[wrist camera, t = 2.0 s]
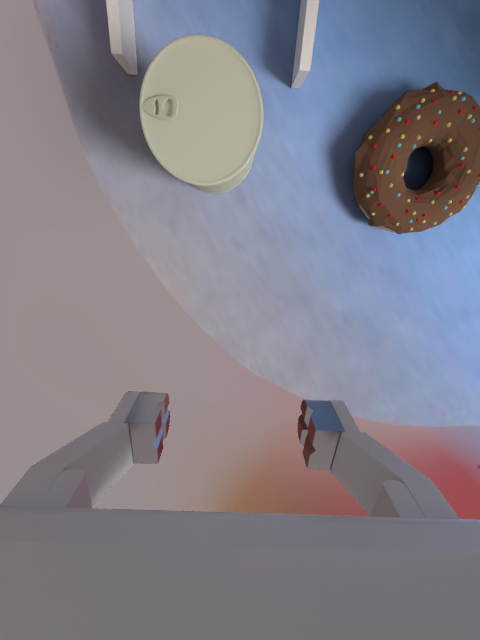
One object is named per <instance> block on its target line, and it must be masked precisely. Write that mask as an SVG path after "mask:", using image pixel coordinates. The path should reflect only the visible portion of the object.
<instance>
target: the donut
mask: <svg viewBox="0 0 480 640" xmlns="http://www.w3.org/2000/svg"><path fill="white" fill-rule="evenodd" d="M422 146H423V147H425V148H426V149H428V150H429V151H430V152H431V155H432V157H433V170H432V173H431V176H430V177H429V179H428V180H427V182H426V183H425V185H424V186H422V187H421V188H419V189H417V190H411V189H409V188H407V187H406V185H405V182H404V179H403V176H404V173H405V171H406V169H407V162H408V158H409V156H410V154H411V153H412V152H413V151H414V150H415V149H416V148H419V147H422ZM479 182H480V107H479V106H478V104H477V103H476V101H475V100H474V99H473V97H472V96H470V95H468V94H466V93H463V92H461V91H458V92H457V91H453V90H445V89H443V88H442V87H441V86H440V85H439V84H438V83H437V82H435V83H433V84H431V85H430V86H428V87H426V88H424V89H423V90H415V91H406V92H405V93H404V94H403V95H402V96H401V97H400V98H399V99H398V100H397V101H396V102H395V103H394V104H393V105H391V106H390V107H389V108H388V109H387V110H386V111H385V113H384V114H383V116H382V117H381V119H380V120H379V121H378V122H377V123H375V124H374V125H373V126H372V127H371V128H370V129H369V131H368V132H367V133H366V135H365V136H364V139H363V141H362V144H361V146H360V148H359V149H358V150H357V151H356V152H355V161H354V172H353V190H354V194H355V199H356V204H357V206H358V207H360V208H361V209H362V211H363V213H364V214H365V216H366V217H367V218H368V222H369V225H370V226H378V227H379V228H382V229H385V230H387V231H390V232H396V233H397V234H401V233H409V232H421V231H423V230H426V229H429V228H432V227H434V226H437V225H440V224H441V223H442V222H444V221H445V220H446V219H447V218H449V217H450V216H452V215H454V214H456V213H458V212H459V211H460V210H461V209H464V208H465V207H466V206H465V205H466V204H467V202H468V201H469V199H470V198H471V197H472V195H473V193H474V192H475V190H476V188H478V187H479Z"/></svg>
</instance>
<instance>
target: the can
mask: <svg viewBox="0 0 480 640" xmlns="http://www.w3.org/2000/svg"><path fill="white" fill-rule="evenodd" d="M139 113H140V121H141V126H142V130H143V133H144V137H145V139H146V142H147V144H148V146H149V148H150V150H151V152H152V153H153V155H154V156H155V158H156V159H157V161H158V162H159V163H160V164H161V165H162V166H163V167H164V168H165V169H166V170H167V171H168V172H169V173H170V174H172V175H173V176H174V177H176V178H178V179H180V180H182V181H184V182H186V183H189V184H191V185H192V186H194V187H195V188H197V189H199V190H201V191H203V192H206V193H212V194H219V193H224V192H227V191H230V190H232V189H234V188H235V187H237V186H238V185H239V184H240V183H241V182H242V181H243V180H244V179H245V177H246V176H247V174H248V173H249V171H250V168H251V166H252V163H253V159H254V153H255V151H256V149H257V146H258V143H259V140H260V137H261V132H262V126H263V104H262V97H261V93H260V89H259V86H258V83H257V80H256V78H255V75H254V74H253V72H252V70H251V68H250V67H249V65H248V63H247V62H246V61H245V59H244V58H243V57H242V56H241V55H240V54H239V53H238V52H237V51H236V50H235V49H234V48H233V47H231V46H230V45H229V44H227V43H225V42H224V41H222V40H220V39H217V38H215V37H211V36H207V35H200V34H196V35H188V36H184V37H181V38H178V39H175V40H174V41H172V42H170V43H169V44H167V45H166V46H165V47H163V48H162V49H161V50H160V51H159V52H158V53H157V54H156V56H155V57H154V59H153V60H152V62H151V63H150V65H149V67H148V69H147V71H146V73H145V76H144V78H143V82H142V86H141V91H140V100H139Z"/></svg>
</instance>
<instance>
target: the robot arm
mask: <svg viewBox="0 0 480 640" xmlns="http://www.w3.org/2000/svg"><path fill="white" fill-rule="evenodd" d="M168 405H169V395H168V393H154V392H137V391H128V392H126V393H125V394H124V396H123V398H122V399H121V401H120V403H119V405H118V406H117V408H116V409H115V411H114V413H113V414H112V416H111V418H110V419H109V421H108V422H103V423H101V424H100V425H98V426H96V427H95V428H93V429H91V430H90V431H88V432H86V433H85V434H83V435H81V436H80V437H78V438H77V439H75V440H73V441H72V442H70V443H68V444H67V445H65V446H64V447H62V448H60V449H59V450H57V451H56V452H54V453H52V454H50V455H49V456H47V457H46V458H44V459H42V460H41V461H39V462H37V463H36V464H34V465H32V466H31V467H30V468H29V470H28V471H27V472H26V473H25V474H24V476H23V477H22V478H21V479H20V481H19V482H18V483H17V485H16V486H15V487H14V488H13V489H12V491H11V492H10V493H9V494H8V496H7V497H6V498H5V499H4V501H3V502H2V503H1V504H0V640H480V520H469V519H459V518H458V516H457V515H456V513H455V512H454V511H453V509H452V508H451V506H450V505H449V504H448V502H447V501H446V499H445V498H444V497H443V495H442V494H441V492H440V491H439V490H438V488H437V487H436V485H435V484H434V483H433V481H432V480H430V479H429V478H428V477H426V476H425V475H423V474H422V473H421V472H419V471H418V470H416V469H415V468H414V467H412V466H411V465H409V464H408V463H407V462H405V461H404V460H402V459H401V458H400V457H398V456H397V455H395V454H394V453H393V452H391V451H390V450H388V449H387V448H386V447H384V446H383V445H381V444H380V443H379V442H377V441H376V440H374V439H373V438H372V437H370V436H369V435H367V434H366V433H361V432H360V430H359V428H358V426H357V425H356V423H355V421H354V419H353V418H352V416H351V414H350V412H349V410H348V409H347V407H346V405H345V403H344V402H343V401H341V400H329V401H326V400H303V401H302V403H301V411H302V414H301V415H300V416H299V418H298V438H299V442H300V443H301V444H302V445H303V446H304V448H303V456H304V460H305V464H306V467H307V469H316V470H331V473H332V474H333V475H334V476H335V477H336V478H337V480H338V481H339V482H340V483H341V484H342V485H343V486H344V487H345V489H346V490H347V491H348V492H349V493H350V494H351V495H352V496H353V498H354V499H355V500H356V501H357V502H358V503H359V505H360V506H361V507H362V508H363V509H364V510H365V511H366V512H367V514H368V515H369V516H336V515H335V516H334V515H302V514H267V513H234V512H201V511H198V512H197V511H167V510H133V509H132V510H131V509H99V508H98V509H97V508H92V505H94V503H96V502H97V501H98V500H99V499H100V498H101V497H102V495H104V494H105V493H106V492H107V491H108V490H109V489H110V488H111V487H112V486H113V485H114V484H115V483H116V482H117V481H118V480H119V479H120V478H121V477H122V476H123V475H124V474H125V473H126V472H127V471H128V470H129V469H130V468H131V467H132V466H133V463H141V464H143V463H145V464H146V463H147V464H152V463H153V464H154V463H155V464H157V463H159V460H160V456H161V453H162V450H163V440H164V439H165V438H166V437H167V433H168V430H169V423H170V411H169V410H168V409H167V408H168Z"/></svg>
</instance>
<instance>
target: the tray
mask: <svg viewBox="0 0 480 640" xmlns="http://www.w3.org/2000/svg"><path fill="white" fill-rule="evenodd" d="M106 4H107V15H108V25H109V36H110V46H111V54H112V55H113V56H114V58H115V59H116V60H117V61H118V62H119V64H120V65H121V66H122V67H123V69H124V70H125V71H126V72H127V74H132V75H138V70H137V55H136V40H135V25H134V10H133V0H106ZM318 7H319V0H301V3H300V12H299V21H298V30H297V39H296V48H295V57H294V66H293V76H292V85H291V88H294V89H301V87H302V85H303V83H304V82H305V80H306V78H307V76H308V74H309V72H310V68H311V60H312V53H313V45H314V37H315V30H316V22H317V14H318Z"/></svg>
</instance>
